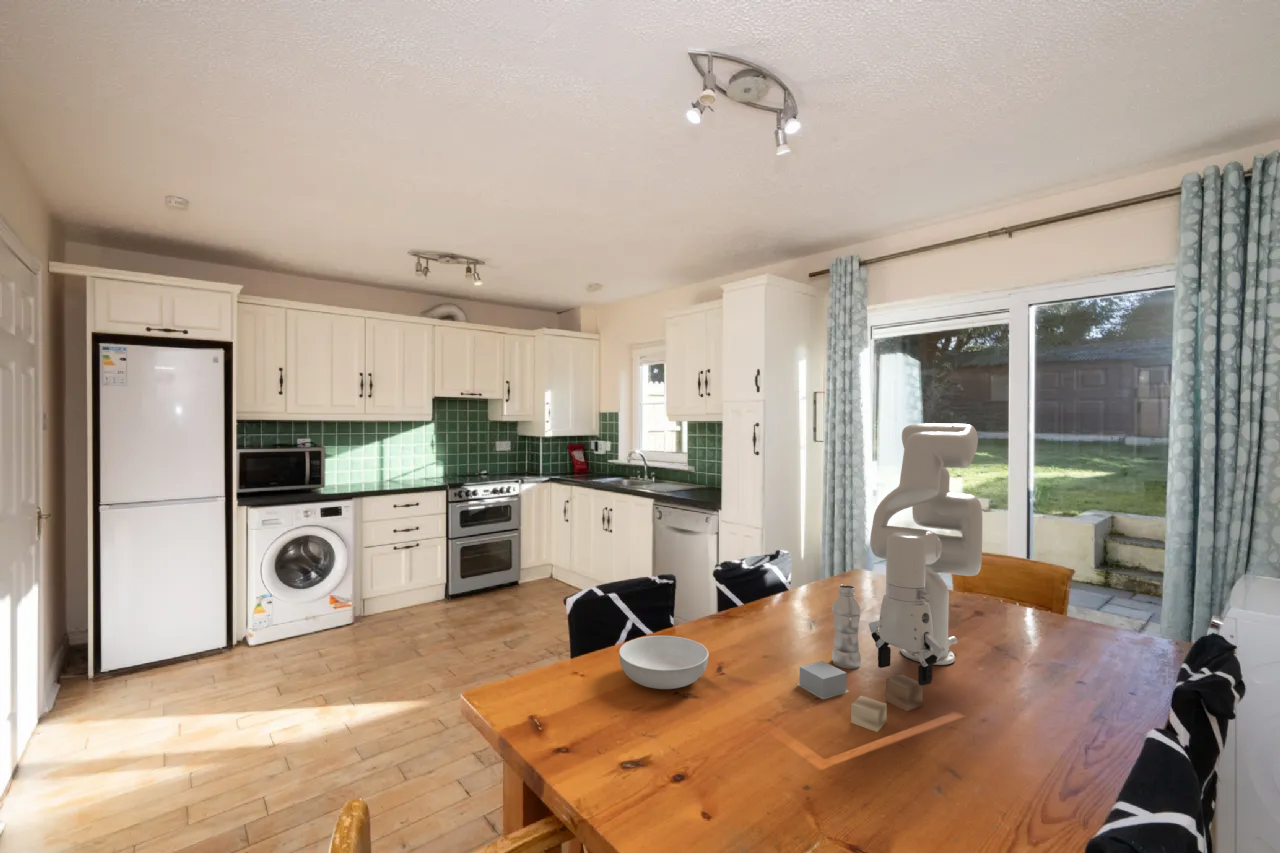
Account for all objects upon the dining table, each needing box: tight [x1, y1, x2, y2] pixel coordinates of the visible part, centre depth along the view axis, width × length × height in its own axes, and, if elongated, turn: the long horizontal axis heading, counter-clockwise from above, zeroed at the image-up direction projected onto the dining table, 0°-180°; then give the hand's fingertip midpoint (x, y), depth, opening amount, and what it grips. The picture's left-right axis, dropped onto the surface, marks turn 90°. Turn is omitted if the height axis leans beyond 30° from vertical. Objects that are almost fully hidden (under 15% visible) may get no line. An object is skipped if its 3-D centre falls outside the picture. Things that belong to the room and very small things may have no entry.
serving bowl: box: [618, 635, 710, 690], centre depth 134 cm, size 21×21×7 cm
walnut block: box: [885, 673, 924, 712], centre depth 121 cm, size 5×5×6 cm
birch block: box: [850, 695, 888, 733], centre depth 113 cm, size 5×5×5 cm
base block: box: [799, 660, 848, 698], centre depth 128 cm, size 7×7×4 cm
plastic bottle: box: [831, 584, 862, 670], centre depth 141 cm, size 6×7×20 cm
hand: (903, 675), depth 121 cm, fingers open, 9 cm apart
